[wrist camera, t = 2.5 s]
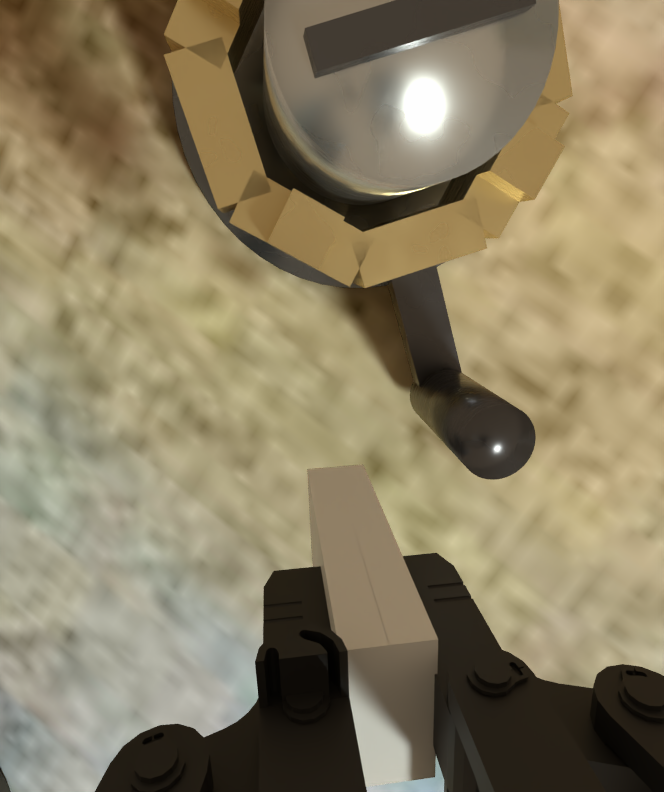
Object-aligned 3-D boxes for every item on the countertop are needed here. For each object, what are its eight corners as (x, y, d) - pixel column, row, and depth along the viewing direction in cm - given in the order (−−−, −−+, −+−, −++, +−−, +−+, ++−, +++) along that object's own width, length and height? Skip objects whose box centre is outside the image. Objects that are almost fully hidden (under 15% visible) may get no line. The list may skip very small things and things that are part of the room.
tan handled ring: (131, -50, 19) (68, -193, 13) (486, -155, 20) (594, -343, 13) (311, 465, 25) (328, 538, 19) (576, 375, 26) (678, 417, 20)
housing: (249, 328, 25) (242, 378, 16) (114, -46, 20) (-6, -286, 11) (551, 229, 25) (716, 221, 16) (485, -157, 21) (662, -470, 12)
